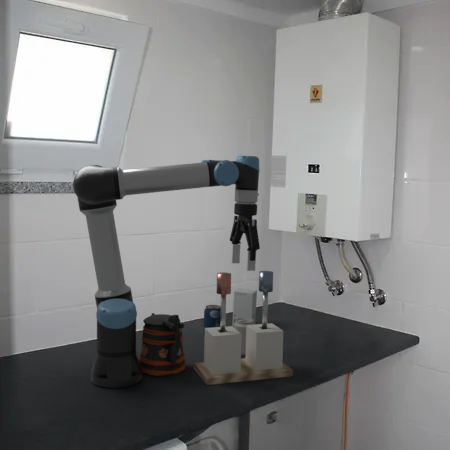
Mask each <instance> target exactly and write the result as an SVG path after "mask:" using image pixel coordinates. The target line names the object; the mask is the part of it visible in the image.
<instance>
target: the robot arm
mask: <svg viewBox="0 0 450 450" xmlns="http://www.w3.org/2000/svg"><path fill="white" fill-rule="evenodd" d="M259 176H260V159H259V157H258V156H255V155H237V156H236V159H235V160H234V161H231V160H228V159H224V160H219V159H218V160H217V159H203V160H200V162H194V163H182V164H171V165H161V166H151V167H139V168H129V169H122V168H120V167H119V166H115V167H113V166H111V167H108V166H107V167H106V166H102V165H98V164H90V165H87V166H84V167H83V168H81V169H80V170H79V171H78V172H77V173H76V174H75V176H74V178H73V183H72V187H73V191H74V194H75V196H76V197H77V202H78V208H79V212H80V213H81V214H83V215H84V216H85V220H86V225H87V230H88V235H89V236H88V237H89V242H90V248H91V254H92V258H93V259H92V260H93V265H94V270H95V277H96V283H97V287H98V288H97V290H96V292H95V294H94V300H95V305H96V312H95V313H96V314H95V317H96V356H95V360H94V362H93V366H92V368H91V372H90V381H91V383H92V384H93V385H95V386H98V387H102V388H108V389H109V388H111V389H118V388H119V389H120V388H126V387H130V386H134V385H136V384H138V383H140V381H141V380H142V378H143V377H142V376H143V374H142V371H141V367H140V360H139V359H138V355H137V316H138V311H137V307H136V304H135V303H134V299H133V294H132V288H131V286H129V285H127V284H126V282H125V281H126V279H125V274H124V268H123V262H122V257H121V251H120V250H121V249H120V245H119V239H118V234H117V233H118V232H117V227H116V222H115V213H114V210H115V209H116V207H117V205H118V203H117V200H123V199H124V197H125V196H126V197H127V196H133V195H141V194H151V193H152V194H153V193H162V192H163V193H164V192H170V191H171V192H172V191H179V190H180V191H181V190H192V189H203V188H210V187H211V188H212V187H221V186H223V187H229V186H232V185H235V188H234V189H235V190H234V202H235V203H234V207H233V209H234V210H233V213H234V217H233V222H232V223H233V224H232V229H231V233H230V236H229V242H231V260H230V261H231V262H230V264H240V260H241V244H242V242H241V239H242V237H243V235H245V240H246V243H247V247H248V248H247V249H246V251H247V253H246V254H247V255H246V271H247V272H249V271H250V272H251V271H253V272H256V263H257V261H256V259H257V251H258V250H260V249H261V248H260V239H259V233H258V221H257V219H253V216H257V215H258V214H257V213H258V204H256V203H258V197H259V195H260V194H259V178H260V177H259Z"/></svg>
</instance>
